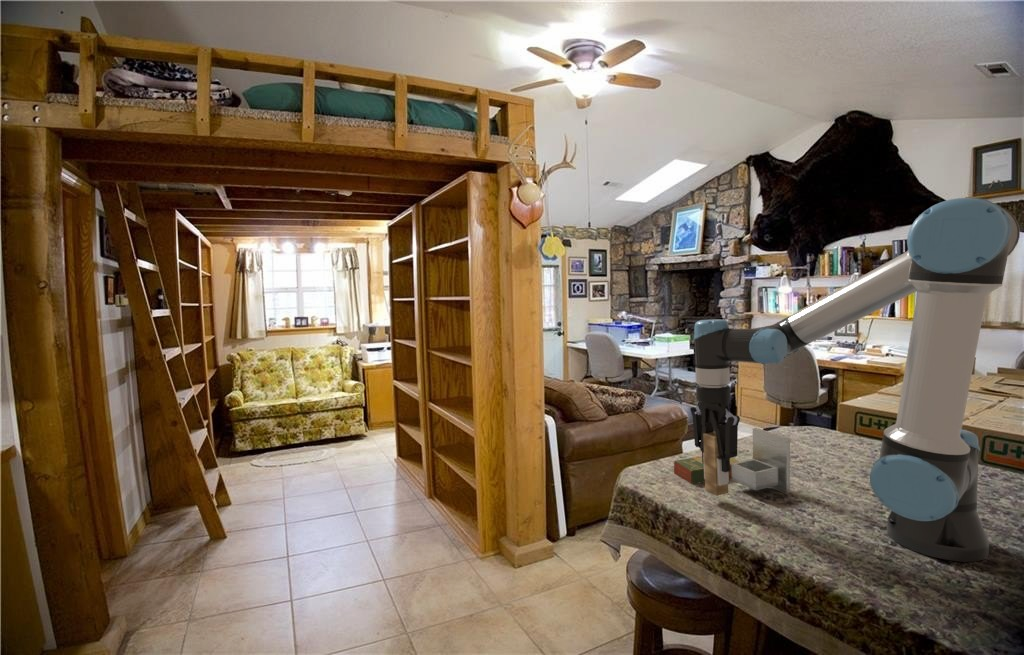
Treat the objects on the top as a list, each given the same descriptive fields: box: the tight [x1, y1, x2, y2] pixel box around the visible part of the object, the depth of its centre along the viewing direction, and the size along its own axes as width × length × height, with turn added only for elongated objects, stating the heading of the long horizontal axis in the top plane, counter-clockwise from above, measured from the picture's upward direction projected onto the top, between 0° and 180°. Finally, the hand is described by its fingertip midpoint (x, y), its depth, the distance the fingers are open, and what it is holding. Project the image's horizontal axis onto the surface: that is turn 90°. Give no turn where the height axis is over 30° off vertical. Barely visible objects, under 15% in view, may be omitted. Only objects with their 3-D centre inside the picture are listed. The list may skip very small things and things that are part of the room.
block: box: [703, 431, 729, 497], centre depth 117 cm, size 4×4×14 cm
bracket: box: [731, 427, 791, 495], centre depth 123 cm, size 10×10×14 cm
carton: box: [673, 456, 741, 485], centre depth 134 cm, size 8×16×4 cm, turn 104°
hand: (716, 480), depth 117 cm, fingers closed on block, 4 cm apart
